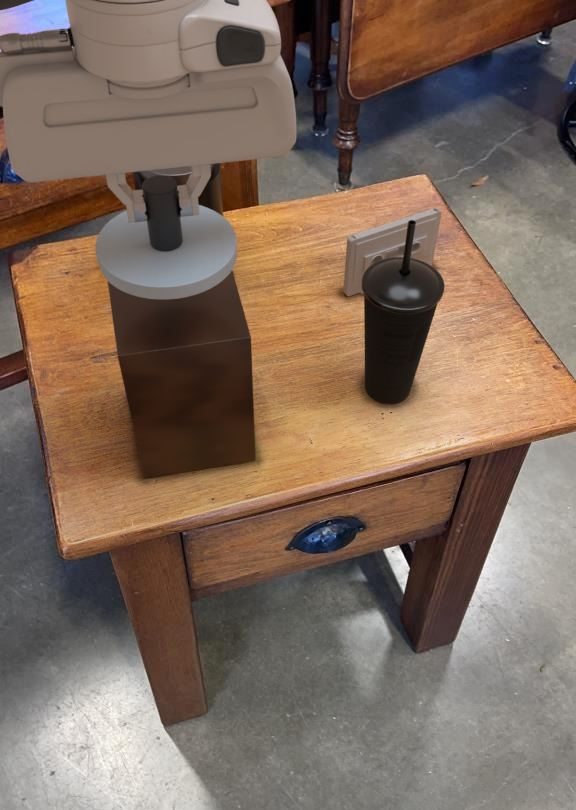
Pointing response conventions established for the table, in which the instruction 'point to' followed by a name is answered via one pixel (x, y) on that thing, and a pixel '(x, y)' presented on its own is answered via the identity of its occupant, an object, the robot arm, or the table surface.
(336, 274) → the table surface
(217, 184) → the thermos
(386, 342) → the drinking cup
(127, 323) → the riser
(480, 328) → the table surface
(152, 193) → the lid
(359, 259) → the cassette
